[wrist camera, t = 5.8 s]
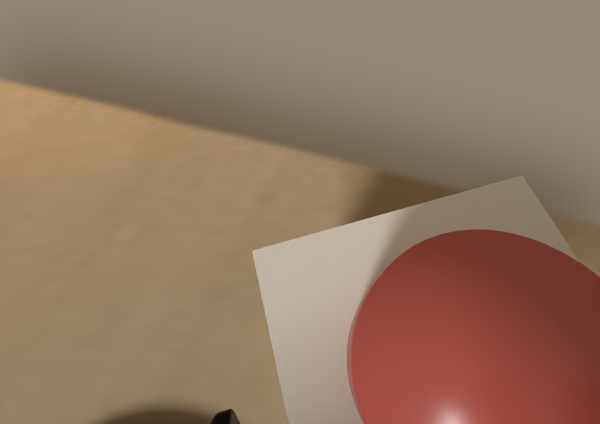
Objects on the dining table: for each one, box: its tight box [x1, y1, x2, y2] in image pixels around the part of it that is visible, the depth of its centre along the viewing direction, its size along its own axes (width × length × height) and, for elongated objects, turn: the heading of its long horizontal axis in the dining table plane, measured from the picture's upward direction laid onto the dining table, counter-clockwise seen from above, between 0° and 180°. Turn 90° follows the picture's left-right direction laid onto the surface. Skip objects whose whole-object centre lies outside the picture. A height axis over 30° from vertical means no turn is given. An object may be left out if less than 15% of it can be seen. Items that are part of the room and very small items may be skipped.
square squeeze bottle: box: [252, 175, 600, 424], centre depth 9 cm, size 5×5×14 cm
